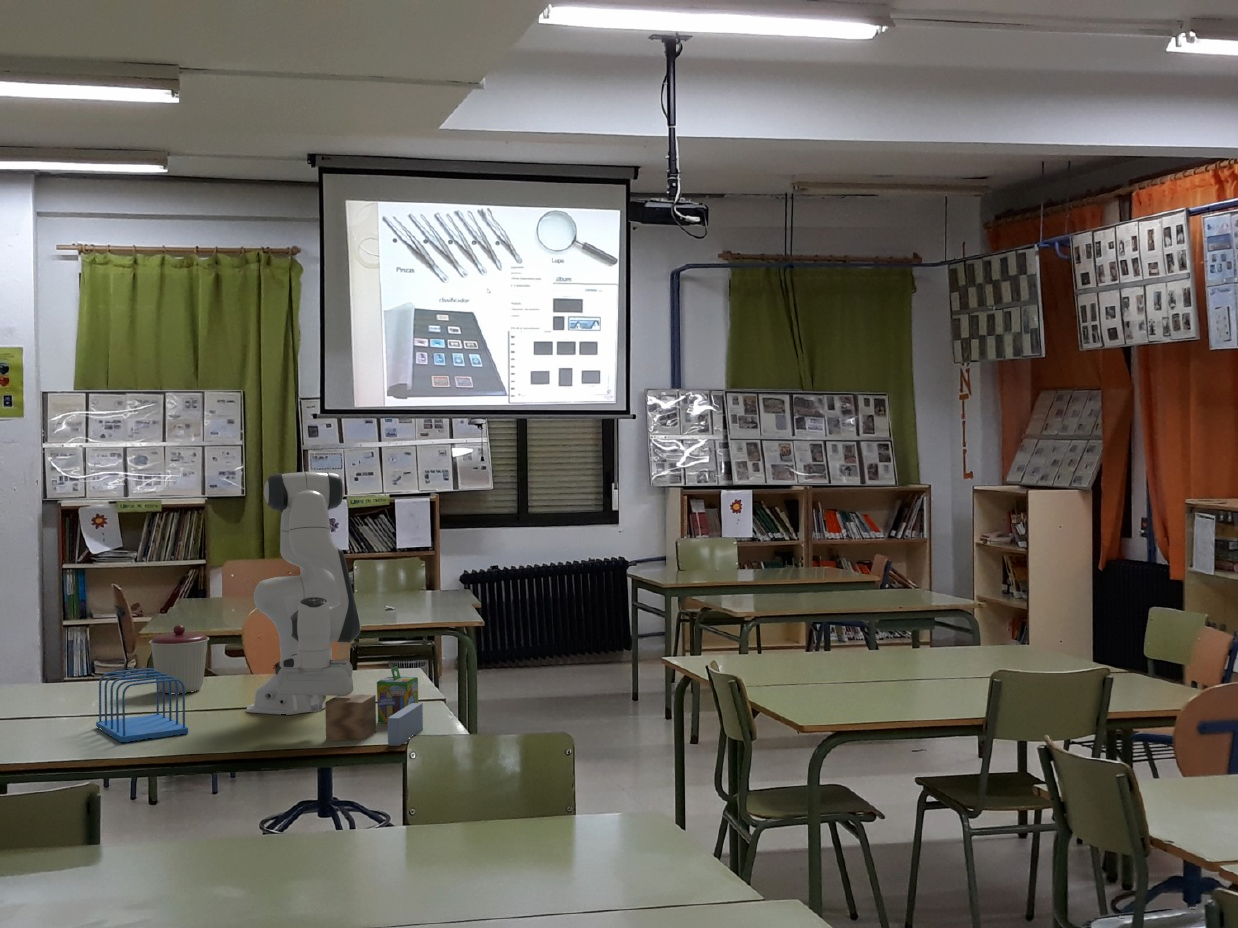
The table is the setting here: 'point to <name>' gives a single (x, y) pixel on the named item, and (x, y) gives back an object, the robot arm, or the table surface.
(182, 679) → the canister
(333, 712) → the walnut cube
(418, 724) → the board
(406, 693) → the chalk box
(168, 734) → the file sorter
